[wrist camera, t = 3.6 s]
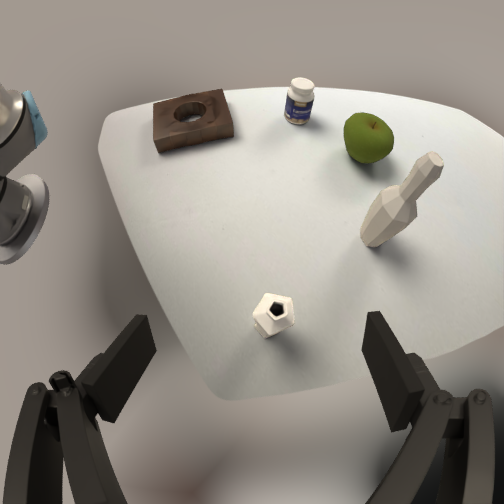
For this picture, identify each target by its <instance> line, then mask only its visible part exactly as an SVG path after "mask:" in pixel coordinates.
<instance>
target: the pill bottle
mask: <svg viewBox="0 0 504 504" xmlns="http://www.w3.org/2000/svg"><path fill="white" fill-rule="evenodd" d="M313 89H314V84H313V82H311V81H310V80H308V79H306V78H294V79H293V80H292V82H291V87H290V88H289V89H288V92H287V99H286V105H285V112H284V116H285V118H286V119H287V120H288V121H289V122H291V123H293V124H304V123H306V122H308V120H309V118H310V113H311V109H312V105H313V101H314V93H313Z"/></svg>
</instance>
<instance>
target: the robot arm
mask: <svg viewBox="0 0 504 504" xmlns="http://www.w3.org/2000/svg"><path fill="white" fill-rule="evenodd" d="M46 137H47V128H46V126H45V124H44V121H43V119H42V117H41V115H40V113H39V110H38V108H37V106H36V103H35V101H34V99H33V96H32V94H31V92H30V91H26V92H23V93H22V94H20V93H19V92H18V91H16V90H8V91H6V90H5V89H4V87H3V86H2V85H1V84H0V245H7V244H9V243H10V242H12V241H13V240H14V239H15V238H16V237H17V236H18V235H19V234H20V232H21V231H22V229H23V228H24V226H25V224H26V222H27V220H28V218H29V215H30V213H31V209H32V204H33V195H32V192H31V190H30V189H29V188H28V187H27V186H26V185H24V184H22V183H19V182H17V181H14V180H11V179H9V178H7V177H6V175H7V174H8V173H9V172H10V171H11V170H12V169H13V168H14V167H15V166H17V165H18V164H19V163H20V162H21V161H22V160H23V159H24V158H25V157H26V156H27V155H29V154H30V153H31V152H32V151H33V150H34V149H36V148H37V146H38V145H39V144H40V143H41V142H42V141H43V140H44V139H45V138H46ZM362 352H363V355H364V357H365V360H366V363H367V365H368V368H369V370H370V373H371V376H372V378H373V381H374V384H375V386H376V389H377V392H378V395H379V397H380V400H381V403H382V406H383V409H384V412H385V415H386V417H387V420H388V423H389V427H390V430H391V432H395V431H399V430H404V429H406V428H407V426H408V424H409V422H410V423H411V425H412V429H411V431H410V433H409V435H408V437H407V438H406V441H405V443H404V445H403V446H402V448H401V450H400V452H399V453H398V455H397V457H396V459H395V460H394V462H393V464H392V465H391V467H390V468H389V470H388V472H387V473H386V475H385V477H384V478H383V479H382V481H381V483H380V484H379V485H378V487H377V488H376V490H375V491H374V492H373V494H372V495H371V497H370V498H369V499H368V501H367V502H366V503H365V504H410V503H411V501H412V500H413V498H414V496H415V494H416V493H417V491H418V489H419V487H420V485H421V483H422V481H423V479H424V477H425V475H426V473H427V471H428V469H429V467H430V465H431V463H432V460H433V458H434V456H435V453H436V451H437V449H438V446H439V444H440V442H441V439H442V438H446V446H445V454H444V463H443V469H442V475H441V481H440V486H439V491H438V495H437V500H436V504H492V497H493V488H494V472H495V437H494V421H493V410H492V401H491V397H490V395H489V394H488V393H487V392H486V391H485V390H482V389H474V390H473V391H471V392H470V394H469V395H468V397H462V398H455V397H453V396H452V395H451V394H450V393H449V392H447V391H445V390H440V388H439V387H438V385H437V383H436V381H435V380H434V378H433V376H432V375H431V373H430V372H429V370H428V368H427V366H425V363H424V361H423V360H422V358H421V357H419V356H418V355H417V354H415V353H410V354H405V352H404V350H403V348H402V347H401V345H400V343H399V342H398V340H397V338H396V337H395V335H394V333H393V332H392V330H391V328H390V327H389V325H388V323H387V322H386V320H385V319H384V317H383V315H382V314H381V312H380V311H374V312H368V314H367V320H366V327H365V333H364V339H363V345H362ZM155 353H156V347H155V343H154V340H153V336H152V333H151V329H150V325H149V322H148V318H147V315H136V316H135V317H134V318H133V319H132V320H131V322H130V323H129V324H128V325H127V326H126V327H125V329H124V330H123V331H122V332H121V333H120V335H119V336H118V337H117V338H116V339H115V341H114V342H113V343H112V344H111V345H110V346H109V348H108V349H107V350H106V351H105V353H100V354H99V355H97V356H96V357H94V358H93V359H92V360H91V361H90V363H89V364H88V365H87V366H86V368H85V369H84V370H83V371H82V372H81V374H80V375H79V376H78V377H77V378H76V380H75V381H74V380H73V378H72V376H71V374H70V373H69V372H67V371H64V370H63V371H58V372H56V373H54V374H53V375H52V376H51V377H50V379H49V382H50V384H51V386H52V388H53V389H54V390H48V389H47V388H46V386H45V385H44V384H43V383H40V382H38V383H34V384H32V385H31V386H30V387H29V388H28V390H27V392H26V395H25V398H24V401H23V405H22V408H21V411H20V415H19V418H18V421H17V425H16V429H15V433H14V437H13V441H12V445H11V450H10V455H9V460H8V466H7V472H6V479H5V487H4V496H3V504H62V477H63V476H62V475H63V458H64V461H65V466H66V471H67V475H68V479H69V483H70V487H71V491H72V494H73V498H74V501H75V504H127V501H126V499H125V497H124V495H123V493H122V490H121V488H120V486H119V483H118V481H117V478H116V476H115V473H114V471H113V468H112V465H111V463H110V460H109V457H108V454H107V451H106V449H105V445H104V442H103V439H102V436H101V432H100V429H99V426H98V422H97V420H96V418H95V416H96V415H97V413H98V414H99V415H100V417H101V419H102V420H104V421H107V422H111V423H115V421H116V419H117V418H118V416H119V414H120V412H121V410H122V409H123V407H124V405H125V404H126V402H127V400H128V398H129V397H130V395H131V393H132V391H133V390H134V388H135V386H136V384H137V383H138V381H139V380H140V378H141V376H142V374H143V373H144V371H145V369H146V368H147V366H148V364H149V363H150V361H151V359H152V357H153V356H154V354H155ZM44 420H45V421H44Z"/></svg>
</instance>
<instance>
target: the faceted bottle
mask: <svg viewBox="0 0 504 504" xmlns="http://www.w3.org/2000/svg"><path fill="white" fill-rule="evenodd" d="M443 166H444V163H443V160H442V158H441V157H440V156H439V155H438V154H437V153H435V152H433V151H431V152H429V153H427V154H426V155H424V156H422V157H421V158H419V159H418V160H417V161H416V163H415V164H414V166H413V168H412V170H411V172H410V174H409V175H408V177H407V178H406V179H405V181H404V182H403V183H402V185H401V186H396V185H391V186H390V187H388V188H386V189H384V190H382V191H381V192H380V193H379V195H378V196H377V198H376V199H375V200H374V202H373V203H372V205H371V206H370V209H369V211H368V213H367V215H366V217H365V219H364V222H363V224H362V226H361V228H360V234H361V239H362V240H363V242H364V243H365V245H366V246H370V247H377V246H379V245H380V244H382V243H384V242H385V241H387V240H388V239H390V238H392V237H393V236H395V235H396V234H398V233H399V232H400V231H402V230H403V229H405V228H406V227H407V226H408V225H409V224H410V223H411V222H412V221H413V220H414V219H415V218H416V217H417V206H416V200H417V199H418V198H419V197H420V196H421V194H422V193H423V192H424V191H425V190H426V189H427V188H428V187H429V186H430V185H431V184H432V183H434V182H435V181H436V180H437V179H438V178H439V177H440V175H441V172H442V169H443Z"/></svg>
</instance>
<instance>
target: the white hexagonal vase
mask: <svg viewBox="0 0 504 504" xmlns="http://www.w3.org/2000/svg"><path fill="white" fill-rule="evenodd" d="M253 318H254V320H255V322H256V323H255V325H254V327H255V328H256V330H257V331H258V332H259V333H260V334H261V335H262V336H263V337H264V338H267V337H270V336H272V335H275V334H277V333H279V332H280V331H282V330H284V329H286V328H289V327H291V326H293V325H294V324H295V320H294V311H293V302H292V299H291V298H289V297H284V296H280V295H275V294H271V293H265V295H264V296H263V298H262V299H261V301H260V303H259V304H258V306H257V307H256V309H255V311H254V312H253Z"/></svg>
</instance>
